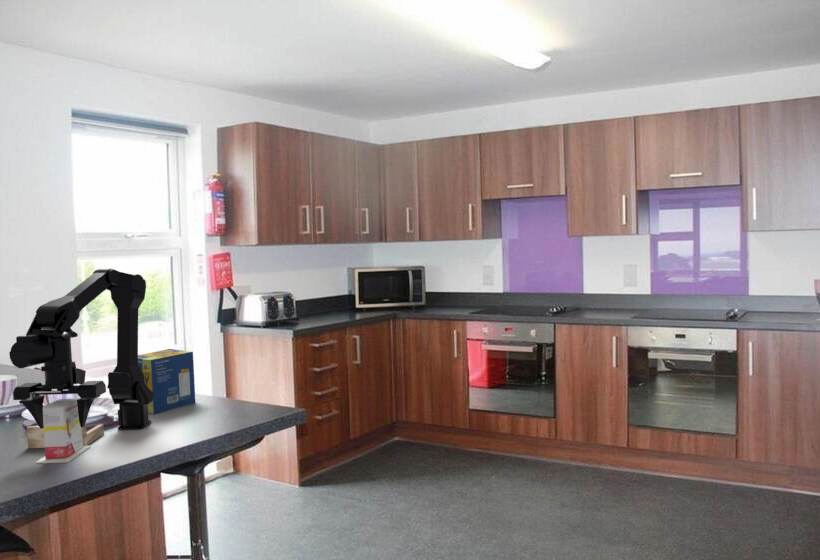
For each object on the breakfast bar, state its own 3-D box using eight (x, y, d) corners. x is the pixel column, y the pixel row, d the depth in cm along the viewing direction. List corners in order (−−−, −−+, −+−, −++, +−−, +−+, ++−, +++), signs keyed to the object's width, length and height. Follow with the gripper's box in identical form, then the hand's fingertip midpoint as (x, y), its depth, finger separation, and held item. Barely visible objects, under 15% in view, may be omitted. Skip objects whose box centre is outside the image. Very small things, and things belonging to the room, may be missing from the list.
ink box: (66, 458, 156) (63, 406, 156) (44, 459, 156) (40, 407, 155) (84, 447, 165) (80, 397, 164) (63, 447, 165) (59, 398, 164)
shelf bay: (103, 434, 177) (102, 414, 177) (85, 446, 167) (83, 425, 166) (50, 435, 177) (48, 416, 177) (28, 448, 167) (26, 427, 167)
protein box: (129, 410, 201) (125, 357, 199) (172, 399, 214) (170, 348, 213) (153, 414, 195) (150, 359, 194) (196, 402, 208) (194, 350, 207)
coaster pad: (90, 447, 166) (90, 445, 166) (67, 462, 155) (67, 460, 155) (61, 448, 166) (61, 446, 166) (36, 463, 155) (35, 461, 155)
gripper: (114, 352, 167) (118, 417, 168) (35, 354, 167) (40, 419, 168) (92, 361, 156) (97, 430, 157) (9, 363, 156) (14, 432, 157)
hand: (62, 427), depth 160 cm, fingers open, 9 cm apart
